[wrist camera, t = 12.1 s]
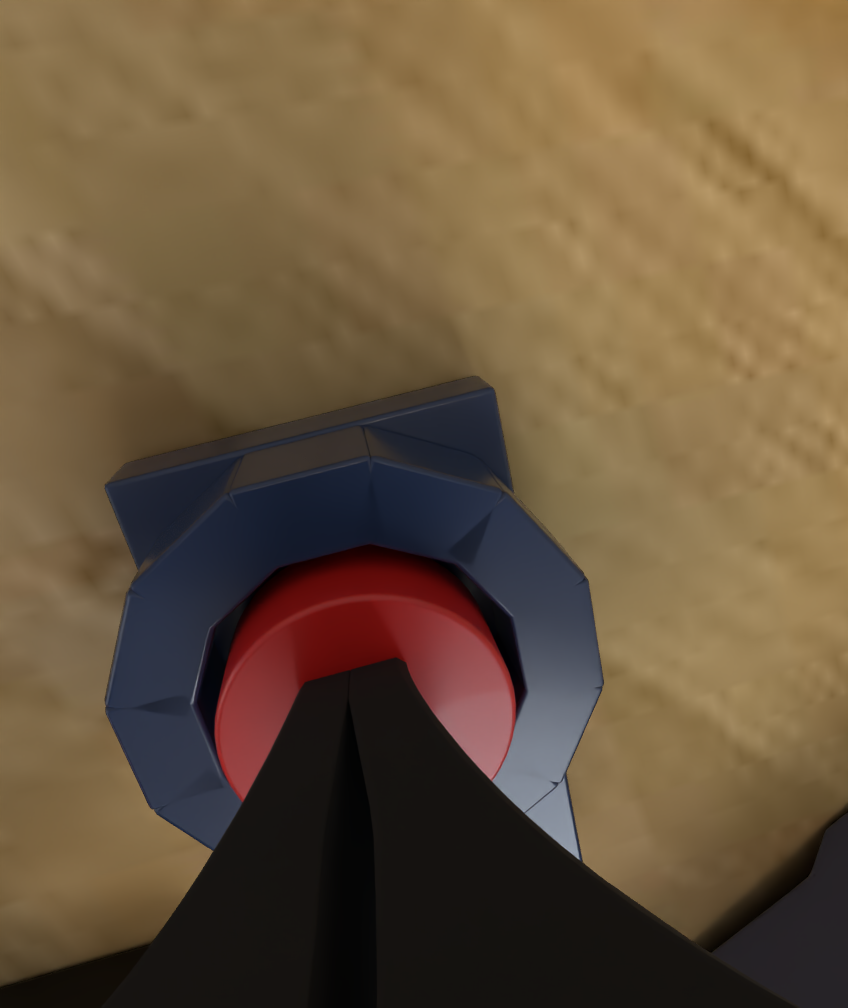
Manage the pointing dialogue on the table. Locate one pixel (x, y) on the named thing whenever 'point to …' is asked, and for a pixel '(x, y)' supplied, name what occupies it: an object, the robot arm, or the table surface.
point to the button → (362, 652)
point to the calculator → (803, 933)
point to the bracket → (73, 984)
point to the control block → (327, 530)
